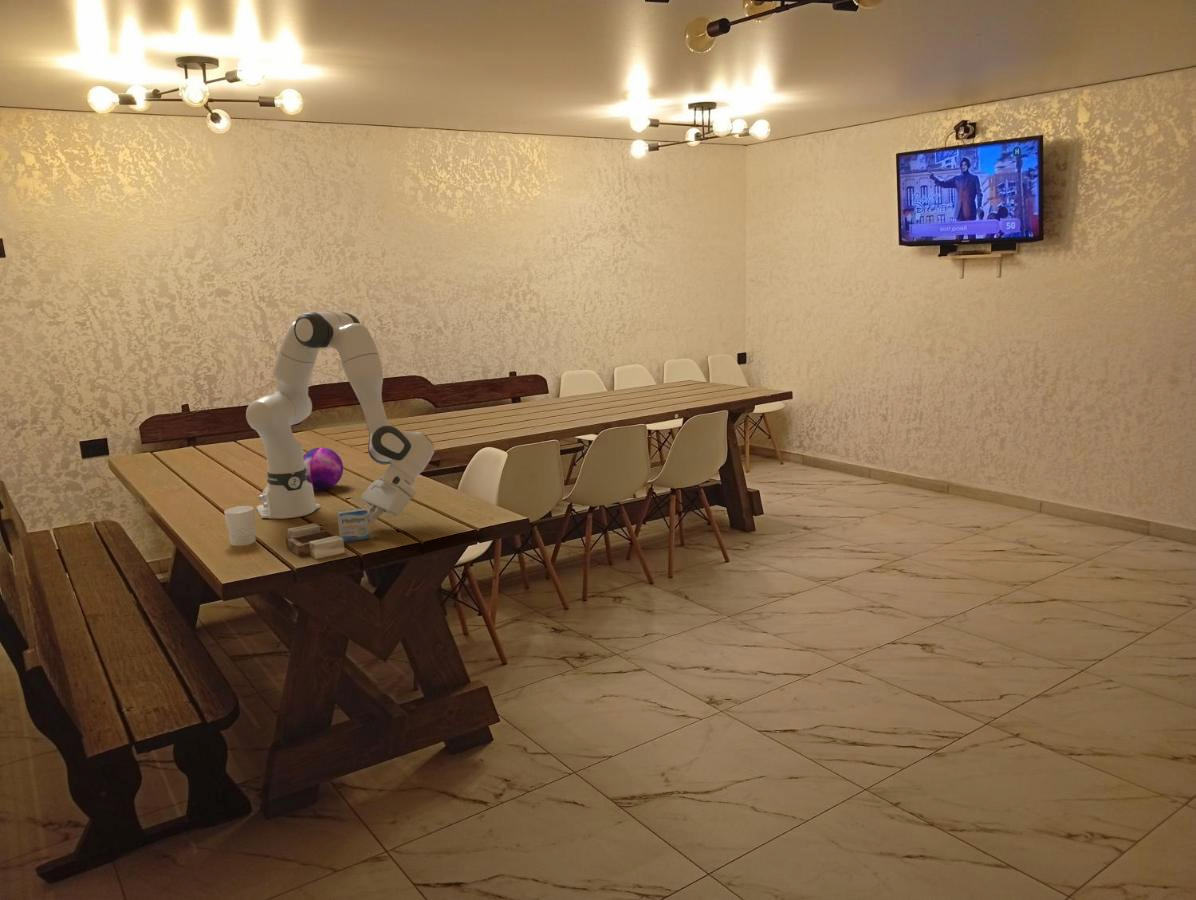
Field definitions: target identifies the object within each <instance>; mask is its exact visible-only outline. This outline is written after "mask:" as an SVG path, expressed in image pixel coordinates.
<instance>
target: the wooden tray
mask: <svg viewBox="0 0 1196 900" xmlns="http://www.w3.org/2000/svg"><path fill="white" fill-rule="evenodd" d="M287 535H288V537H286V538H285V541H286V549H287V548H288V549H287V550H288V551H290V550H291V551H290V552H292V553H293V552H294V554H295V555H296V554H297V556H298V557H304V556H308V555H310V556H311V557H312V558H314V559H316V560H319V559H323V558H327V557H332V556H336V555H340V554H343V553H344V554H345V543H344V541H343V538H341V537H339V535H334V536H329V532H328V529H323V530H321V526H320V525H319V524H316V523H315V522H314V523H309V524H304V525H300V526H296V527H291V528H287Z"/></svg>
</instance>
